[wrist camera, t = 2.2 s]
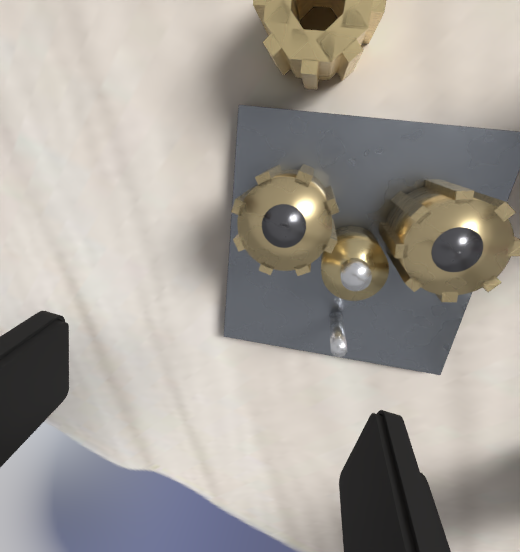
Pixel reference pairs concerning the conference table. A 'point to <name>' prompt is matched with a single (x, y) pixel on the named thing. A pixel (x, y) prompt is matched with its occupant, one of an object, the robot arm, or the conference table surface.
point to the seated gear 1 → (286, 220)
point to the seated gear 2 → (449, 239)
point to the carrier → (357, 233)
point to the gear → (318, 36)
